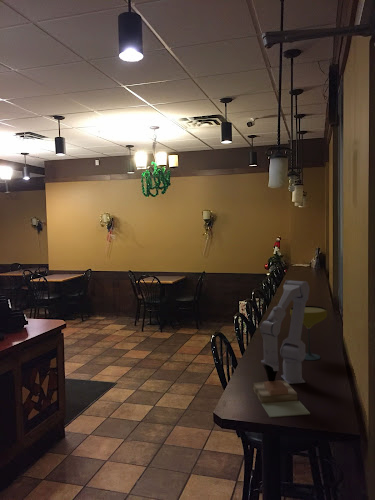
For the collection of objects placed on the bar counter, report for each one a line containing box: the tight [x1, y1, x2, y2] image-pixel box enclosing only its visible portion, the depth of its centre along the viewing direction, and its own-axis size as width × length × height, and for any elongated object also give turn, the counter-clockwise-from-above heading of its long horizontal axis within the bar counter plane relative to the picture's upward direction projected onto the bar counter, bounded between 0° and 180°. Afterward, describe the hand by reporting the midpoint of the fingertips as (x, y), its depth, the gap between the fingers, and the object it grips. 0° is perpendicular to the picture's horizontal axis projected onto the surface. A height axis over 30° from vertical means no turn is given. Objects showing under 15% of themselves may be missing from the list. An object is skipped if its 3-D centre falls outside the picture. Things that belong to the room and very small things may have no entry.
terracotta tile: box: [263, 380, 288, 395], centre depth 166 cm, size 9×7×2 cm
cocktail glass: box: [289, 305, 328, 361], centre depth 213 cm, size 18×18×25 cm
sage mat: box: [260, 400, 311, 419], centre depth 155 cm, size 11×15×1 cm
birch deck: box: [252, 380, 298, 404], centre depth 168 cm, size 14×14×3 cm
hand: (271, 382), depth 171 cm, fingers closed
